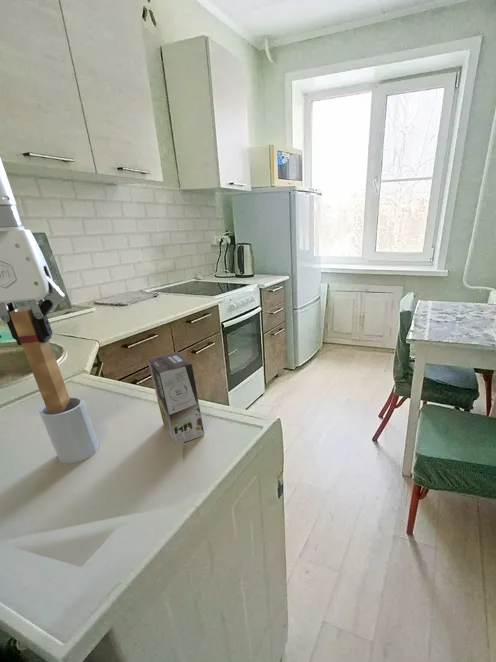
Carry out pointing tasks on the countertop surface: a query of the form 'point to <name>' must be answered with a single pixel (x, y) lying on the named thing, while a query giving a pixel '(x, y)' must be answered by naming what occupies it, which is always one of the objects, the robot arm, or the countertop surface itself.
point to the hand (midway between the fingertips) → (35, 340)
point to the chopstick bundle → (40, 360)
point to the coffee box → (177, 396)
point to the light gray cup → (71, 431)
